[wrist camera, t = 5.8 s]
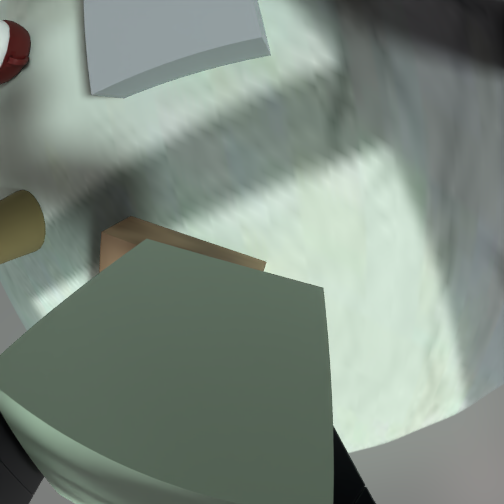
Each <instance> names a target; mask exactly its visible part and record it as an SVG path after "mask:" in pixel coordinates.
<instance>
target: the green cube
mask: <svg viewBox="0 0 504 504" xmlns="http://www.w3.org/2000/svg"><path fill="white" fill-rule="evenodd" d="M0 412H1V413H2V415H3V417H4V419H5V420H6V422H7V424H8V425H9V427H10V429H11V430H12V432H13V433H14V435H15V436H16V438H17V439H18V441H19V443H20V444H21V445H22V447H23V448H24V450H25V451H26V453H27V454H28V456H29V457H30V458H31V460H32V461H33V462H34V464H35V465H36V466H37V468H38V469H39V470H40V472H41V473H42V474H43V476H44V477H45V478H46V479H47V481H48V482H49V483H50V484H51V485H52V487H53V488H54V489H55V490H56V491H57V492H58V494H60V495H61V496H63V497H65V498H67V499H68V500H70V501H72V502H73V503H75V504H333V489H334V450H333V412H332V390H331V372H330V357H329V344H328V331H327V320H326V309H325V299H324V290H323V288H322V287H319V286H315V285H311V284H307V283H304V282H300V281H296V280H293V279H289V278H285V277H282V276H278V275H274V274H271V273H267V272H263V271H260V270H256V269H252V268H249V267H245V266H242V265H238V264H234V263H231V262H227V261H224V260H220V259H216V258H213V257H209V256H206V255H202V254H199V253H195V252H192V251H188V250H185V249H181V248H178V247H174V246H171V245H167V244H164V243H160V242H157V241H153V240H150V239H145V240H144V241H143V242H141V243H140V244H138V245H137V246H135V247H134V248H133V249H131V250H130V251H129V252H127V253H126V254H124V255H123V256H122V257H120V258H119V259H118V260H116V261H115V262H113V263H112V264H111V265H109V266H108V267H107V268H105V269H104V270H103V271H101V272H100V273H99V274H97V275H96V276H95V277H93V278H92V279H91V280H90V281H88V282H87V283H86V284H84V285H83V286H82V287H80V288H79V289H78V290H77V291H75V292H74V293H73V294H72V295H70V296H69V297H68V298H66V299H65V300H64V301H63V302H62V303H60V304H59V305H58V306H57V307H55V308H54V309H53V310H52V311H50V312H49V313H48V314H47V315H46V316H44V317H43V318H42V319H41V320H40V321H38V322H37V323H36V324H35V325H34V326H32V327H31V328H30V329H29V330H28V331H27V332H25V333H24V334H23V335H22V336H21V337H20V338H19V339H17V340H16V341H15V342H14V343H13V344H12V345H11V346H9V348H7V349H6V350H5V351H4V352H3V353H2V354H1V355H0Z"/></svg>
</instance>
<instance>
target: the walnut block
mask: <svg viewBox="0 0 504 504" xmlns="http://www.w3.org/2000/svg"><path fill="white" fill-rule="evenodd" d="M145 239H150V240H153V241H157V242H160V243H164V244H167V245H171V246H174V247H178V248H181V249H185V250H188V251H192V252H195V253H199V254H202V255H206V256H209V257H213V258H216V259H220V260H224V261H227V262H231V263H234V264H238V265H242V266H245V267H249V268H252V269H256V270H260V271H264V268H265V265H266V262H265V261H262V260H259V259H256V258H253V257H250V256H248V255H245V254H242V253H239V252H236V251H233V250H230V249H227V248H224V247H221V246H218V245H215V244H212V243H209V242H206V241H203V240H200V239H197V238H194V237H191V236H188V235H185V234H182V233H179V232H176V231H173V230H170V229H167V228H165V227H162V226H159V225H156V224H153V223H150V222H147V221H144V220H141V219H138V218H135V217H132V216H130V217H128V218H126V219H124V220H123V221H121V222H119V223H117V224H115V225H113V226H111V227H110V228H108V229H106V230H104V231H102V233H101V247H100V267H99V273H100V272H101V271H103V270H104V269H105V268H107V267H108V266H109V265H111V264H112V263H113V262H115V261H116V260H118V259H119V258H120V257H122V256H123V255H124V254H126V253H127V252H129V251H130V250H131V249H133V248H134V247H135V246H137V245H138V244H140V243H141V242H143V241H144V240H145Z"/></svg>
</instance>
